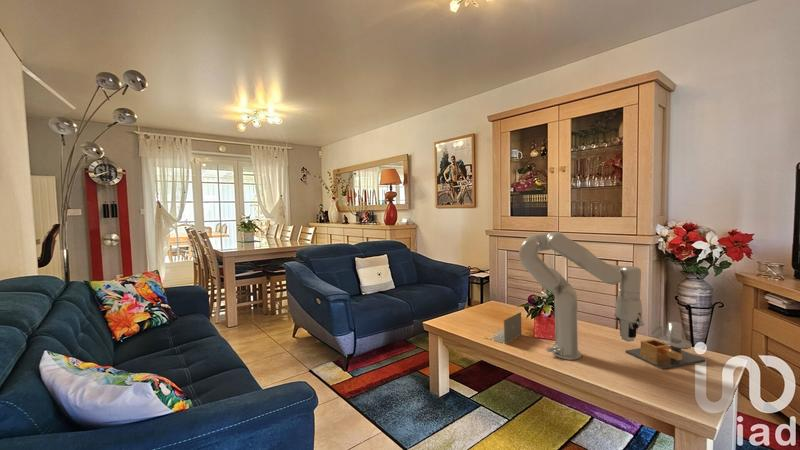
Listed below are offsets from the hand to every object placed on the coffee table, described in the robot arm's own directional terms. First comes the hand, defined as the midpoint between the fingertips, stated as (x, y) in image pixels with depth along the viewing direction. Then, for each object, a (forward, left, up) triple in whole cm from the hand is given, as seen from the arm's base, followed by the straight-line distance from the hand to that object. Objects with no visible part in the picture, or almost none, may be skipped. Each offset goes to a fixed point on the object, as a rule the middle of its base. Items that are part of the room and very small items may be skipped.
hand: (627, 334), depth 154 cm
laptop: (-35, +45, -13) cm, 59 cm away
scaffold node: (+20, -2, -13) cm, 23 cm away
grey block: (0, 0, -2) cm, 2 cm away
